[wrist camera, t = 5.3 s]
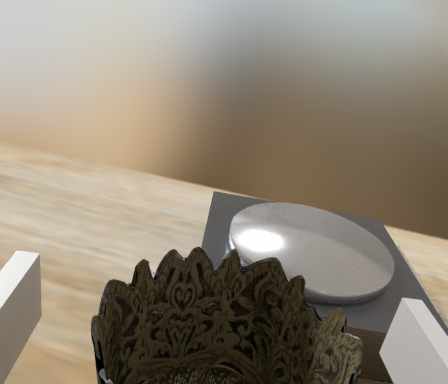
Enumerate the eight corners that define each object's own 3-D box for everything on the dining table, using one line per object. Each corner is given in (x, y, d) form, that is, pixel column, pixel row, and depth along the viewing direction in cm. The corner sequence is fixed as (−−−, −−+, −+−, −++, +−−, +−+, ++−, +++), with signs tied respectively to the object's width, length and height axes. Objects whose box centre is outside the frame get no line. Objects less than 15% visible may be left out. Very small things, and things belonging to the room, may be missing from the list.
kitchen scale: (182, 346, 21) (191, 285, 19) (208, 225, 32) (215, 181, 31) (450, 392, 21) (481, 335, 19) (378, 254, 33) (393, 212, 31)
